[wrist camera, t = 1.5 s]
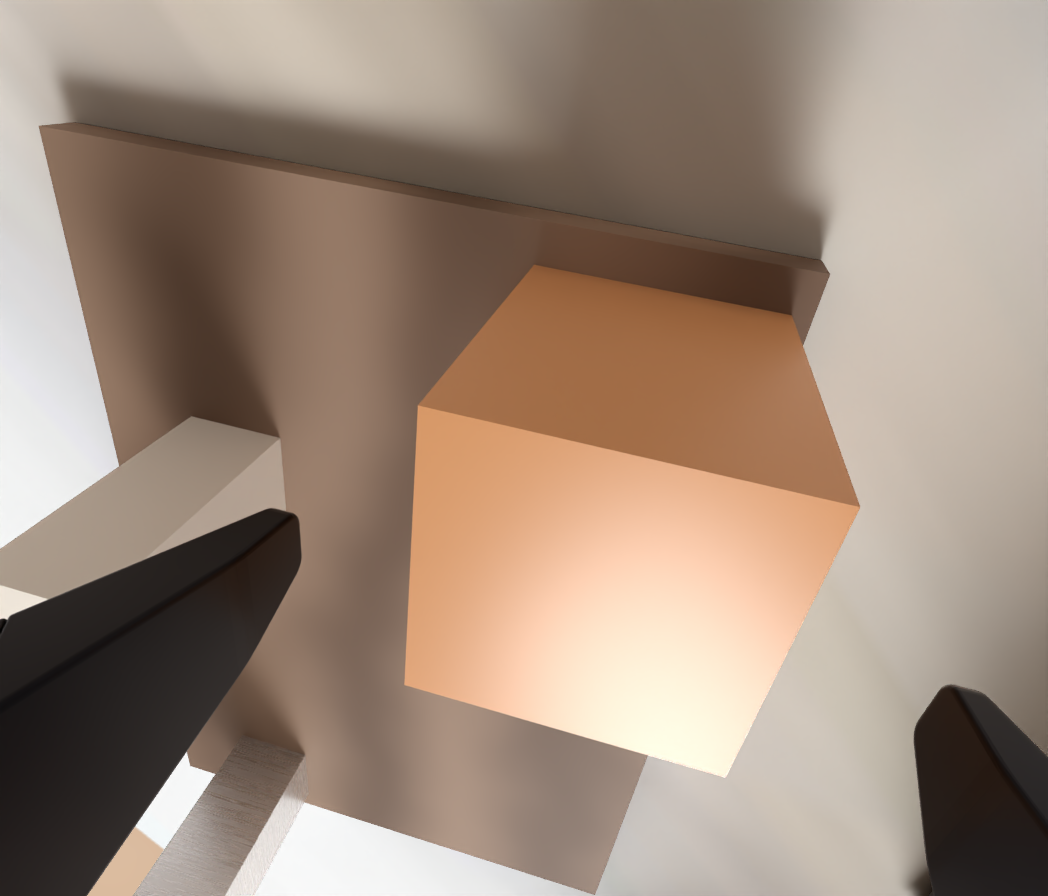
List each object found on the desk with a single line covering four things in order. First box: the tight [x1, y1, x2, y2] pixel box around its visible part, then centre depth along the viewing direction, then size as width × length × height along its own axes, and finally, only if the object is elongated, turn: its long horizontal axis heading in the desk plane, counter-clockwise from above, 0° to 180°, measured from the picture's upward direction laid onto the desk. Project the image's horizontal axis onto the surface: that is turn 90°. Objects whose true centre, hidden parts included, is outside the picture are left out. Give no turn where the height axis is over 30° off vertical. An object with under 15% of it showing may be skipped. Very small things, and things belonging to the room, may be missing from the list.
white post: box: [0, 416, 286, 619], centre depth 16 cm, size 3×3×8 cm
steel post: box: [133, 735, 309, 896], centre depth 23 cm, size 3×3×8 cm
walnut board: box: [39, 122, 830, 895], centre depth 20 cm, size 17×24×1 cm
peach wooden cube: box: [404, 265, 860, 778], centre depth 12 cm, size 5×5×7 cm
